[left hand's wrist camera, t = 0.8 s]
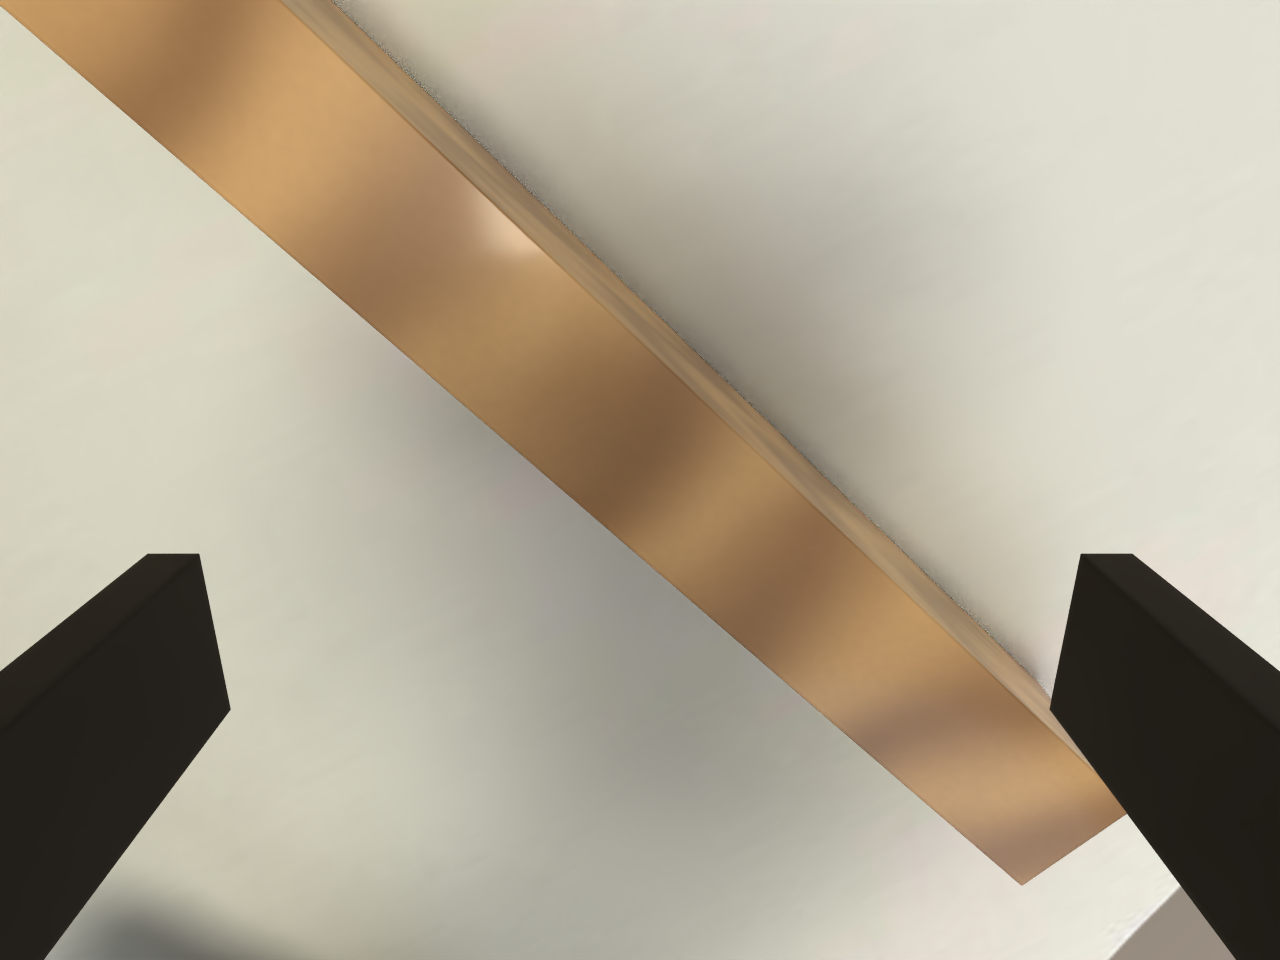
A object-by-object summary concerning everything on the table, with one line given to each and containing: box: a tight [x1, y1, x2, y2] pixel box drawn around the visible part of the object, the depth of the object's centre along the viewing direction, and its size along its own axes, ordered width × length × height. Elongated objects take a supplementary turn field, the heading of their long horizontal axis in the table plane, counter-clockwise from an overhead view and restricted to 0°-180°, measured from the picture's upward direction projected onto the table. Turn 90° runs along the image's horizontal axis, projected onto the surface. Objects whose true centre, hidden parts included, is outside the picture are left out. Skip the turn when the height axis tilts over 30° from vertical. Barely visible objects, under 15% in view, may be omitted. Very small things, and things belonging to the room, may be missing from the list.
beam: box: [0, 0, 1127, 885], centre depth 29 cm, size 67×5×8 cm, turn 46°
